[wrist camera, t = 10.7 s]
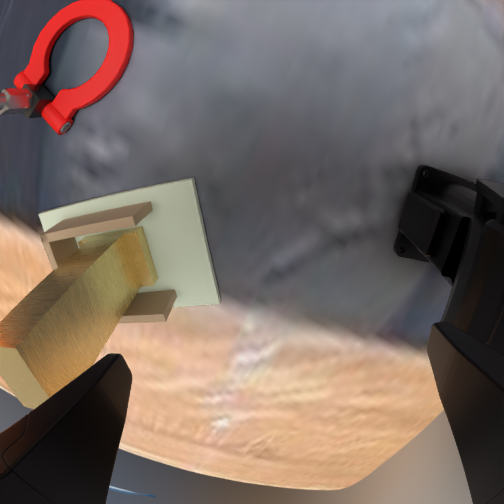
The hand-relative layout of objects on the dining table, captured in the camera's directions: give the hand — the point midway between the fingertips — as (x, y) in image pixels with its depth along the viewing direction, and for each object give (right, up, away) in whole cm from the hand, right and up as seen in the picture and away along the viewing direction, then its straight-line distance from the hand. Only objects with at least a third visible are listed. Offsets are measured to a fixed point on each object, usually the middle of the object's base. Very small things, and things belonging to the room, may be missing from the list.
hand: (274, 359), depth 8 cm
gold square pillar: (-10, +2, +13) cm, 17 cm away
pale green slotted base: (-10, +3, +14) cm, 17 cm away
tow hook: (-13, +16, +8) cm, 22 cm away
